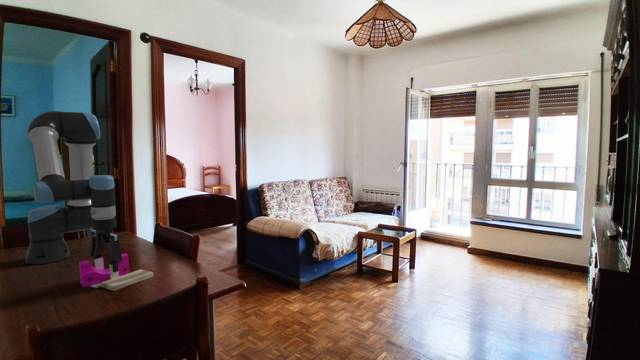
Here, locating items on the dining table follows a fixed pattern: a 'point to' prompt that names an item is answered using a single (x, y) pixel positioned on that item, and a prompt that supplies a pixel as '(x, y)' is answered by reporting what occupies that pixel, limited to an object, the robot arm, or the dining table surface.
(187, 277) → the dining table surface
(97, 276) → the toy block
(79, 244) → the dining table surface
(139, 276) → the board
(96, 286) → the mat
